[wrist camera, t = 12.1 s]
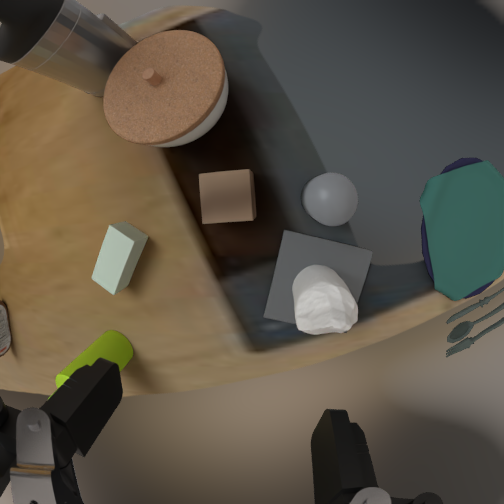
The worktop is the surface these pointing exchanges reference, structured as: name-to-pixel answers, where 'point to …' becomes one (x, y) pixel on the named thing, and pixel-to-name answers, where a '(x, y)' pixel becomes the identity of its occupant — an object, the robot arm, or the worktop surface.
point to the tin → (4, 330)
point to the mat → (306, 254)
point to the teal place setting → (464, 237)
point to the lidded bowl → (167, 90)
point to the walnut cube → (227, 196)
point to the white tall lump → (323, 301)
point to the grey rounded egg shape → (330, 199)
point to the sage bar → (118, 256)
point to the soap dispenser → (100, 354)
